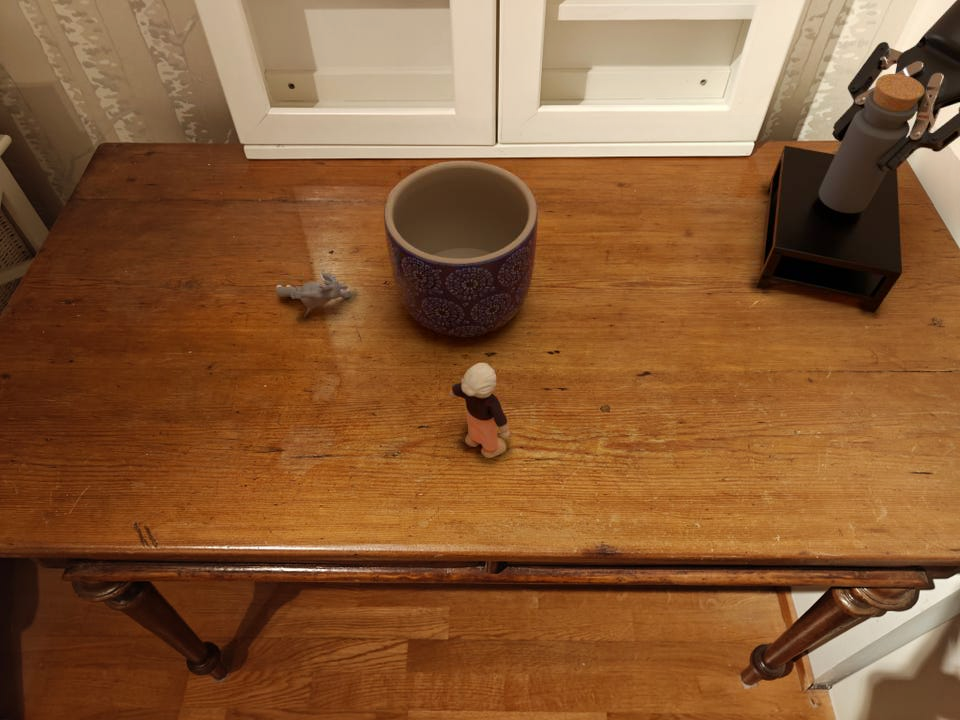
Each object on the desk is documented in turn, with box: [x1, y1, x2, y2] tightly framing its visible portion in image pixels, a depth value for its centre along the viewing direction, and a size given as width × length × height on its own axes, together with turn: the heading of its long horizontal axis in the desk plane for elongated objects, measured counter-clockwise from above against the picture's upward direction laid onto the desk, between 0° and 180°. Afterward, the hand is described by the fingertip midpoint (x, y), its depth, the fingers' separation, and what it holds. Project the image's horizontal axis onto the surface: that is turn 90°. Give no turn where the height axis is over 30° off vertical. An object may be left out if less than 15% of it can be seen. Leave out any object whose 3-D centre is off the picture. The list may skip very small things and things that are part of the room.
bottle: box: [819, 73, 924, 213], centre depth 79 cm, size 6×6×15 cm
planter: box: [383, 160, 539, 338], centre depth 80 cm, size 16×17×15 cm
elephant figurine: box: [275, 269, 353, 319], centre depth 84 cm, size 10×6×9 cm
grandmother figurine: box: [449, 362, 511, 459], centre depth 69 cm, size 8×4×13 cm, turn 59°
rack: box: [755, 145, 903, 314], centre depth 89 cm, size 14×20×7 cm
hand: (858, 152), depth 79 cm, fingers closed on bottle, 6 cm apart
